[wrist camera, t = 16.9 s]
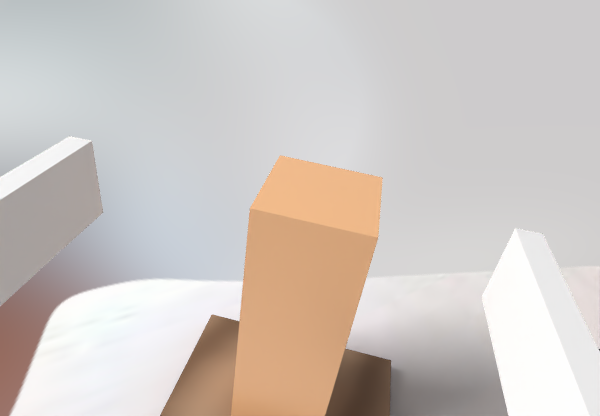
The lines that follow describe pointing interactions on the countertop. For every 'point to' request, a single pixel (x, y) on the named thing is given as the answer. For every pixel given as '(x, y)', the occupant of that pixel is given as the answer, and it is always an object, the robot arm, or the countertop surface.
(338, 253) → the tall wooden block
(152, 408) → the countertop surface
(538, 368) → the robot arm
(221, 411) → the post board
